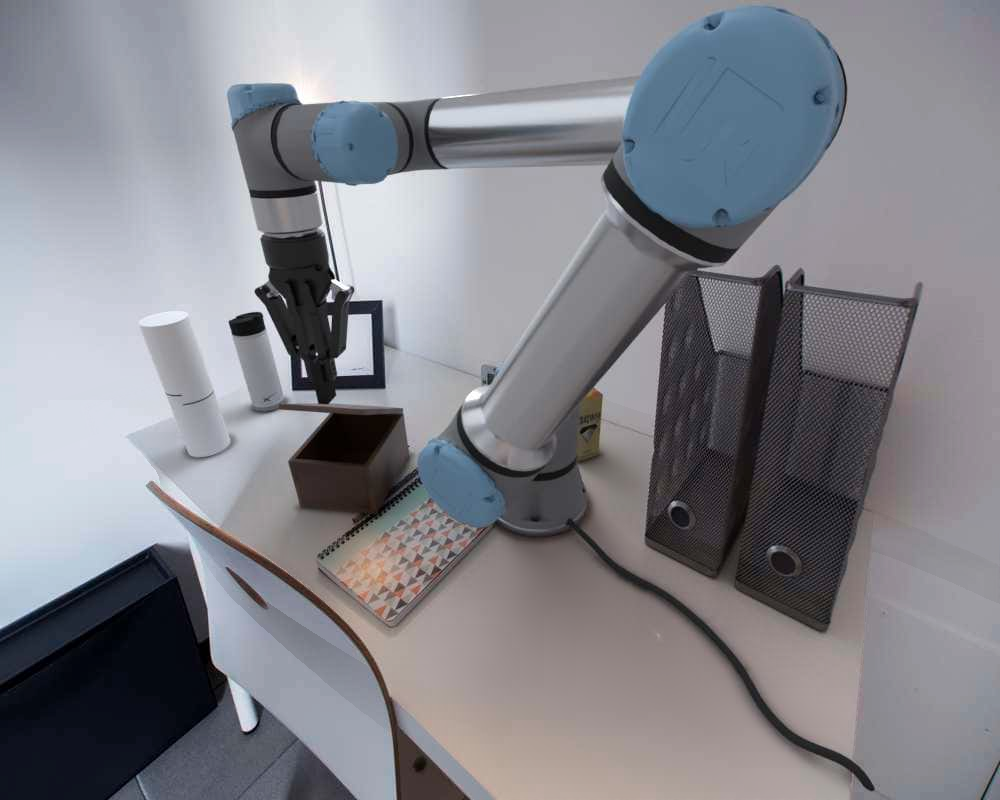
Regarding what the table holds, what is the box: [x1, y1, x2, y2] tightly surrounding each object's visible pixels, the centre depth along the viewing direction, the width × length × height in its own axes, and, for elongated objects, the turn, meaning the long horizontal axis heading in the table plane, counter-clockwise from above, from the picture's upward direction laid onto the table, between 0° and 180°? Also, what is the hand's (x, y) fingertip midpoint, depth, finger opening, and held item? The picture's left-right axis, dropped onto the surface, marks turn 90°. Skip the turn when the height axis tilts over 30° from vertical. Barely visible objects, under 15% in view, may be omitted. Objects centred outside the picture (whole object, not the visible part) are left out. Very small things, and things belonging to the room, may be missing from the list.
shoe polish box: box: [577, 387, 604, 463], centre depth 90 cm, size 5×5×12 cm
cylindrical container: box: [138, 310, 231, 458], centre depth 92 cm, size 7×7×25 cm
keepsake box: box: [287, 412, 410, 516], centre depth 86 cm, size 16×13×9 cm
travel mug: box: [228, 311, 286, 413], centre depth 106 cm, size 6×7×20 cm
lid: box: [278, 402, 404, 415], centre depth 82 cm, size 16×13×1 cm
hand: (327, 399), depth 76 cm, fingers closed
